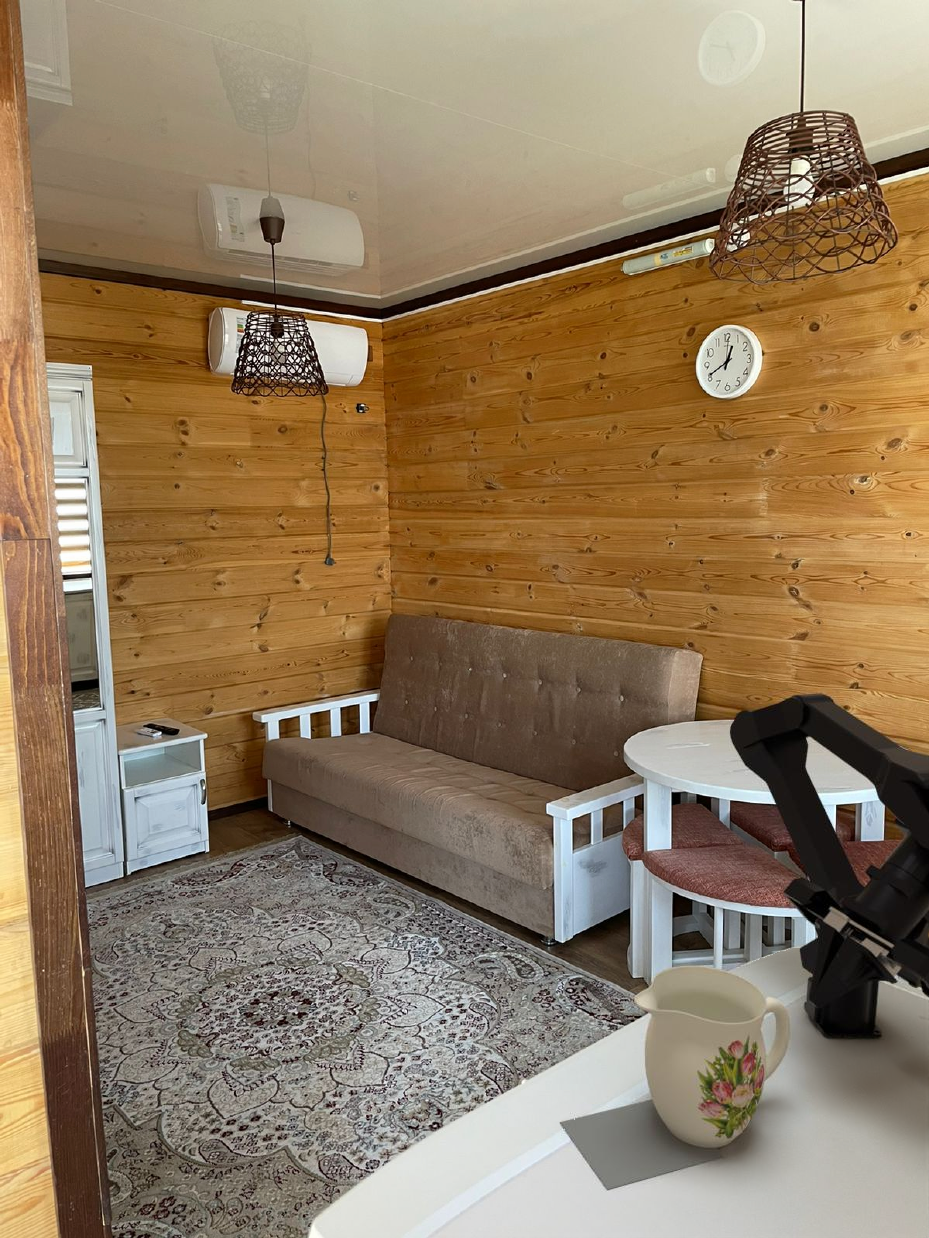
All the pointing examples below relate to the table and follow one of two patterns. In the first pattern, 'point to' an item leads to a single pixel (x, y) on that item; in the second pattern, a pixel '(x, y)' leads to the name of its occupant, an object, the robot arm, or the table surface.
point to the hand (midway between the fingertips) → (813, 1004)
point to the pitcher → (708, 1051)
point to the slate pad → (632, 1145)
